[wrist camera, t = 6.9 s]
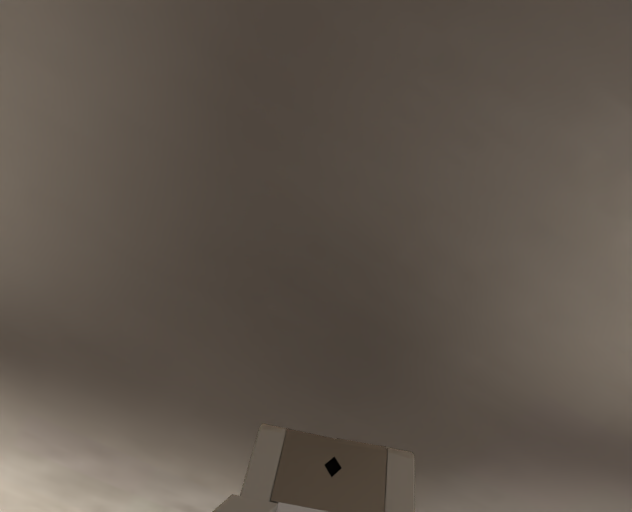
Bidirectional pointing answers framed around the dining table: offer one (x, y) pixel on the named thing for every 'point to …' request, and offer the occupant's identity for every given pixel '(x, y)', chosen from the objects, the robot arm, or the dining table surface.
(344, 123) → the dining table surface
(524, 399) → the dining table surface
